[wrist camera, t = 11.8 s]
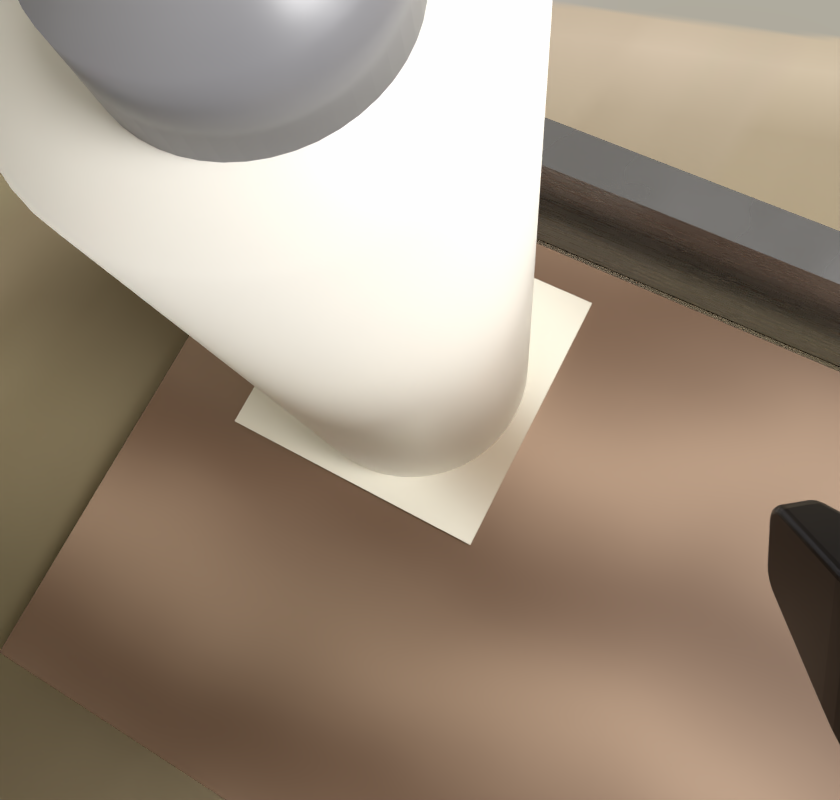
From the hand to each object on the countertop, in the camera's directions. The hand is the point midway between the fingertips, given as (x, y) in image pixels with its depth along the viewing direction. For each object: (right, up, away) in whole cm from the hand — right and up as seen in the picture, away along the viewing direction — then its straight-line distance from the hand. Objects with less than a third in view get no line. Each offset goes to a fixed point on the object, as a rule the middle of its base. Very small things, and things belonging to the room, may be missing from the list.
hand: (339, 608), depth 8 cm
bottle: (+1, +3, +12) cm, 13 cm away
